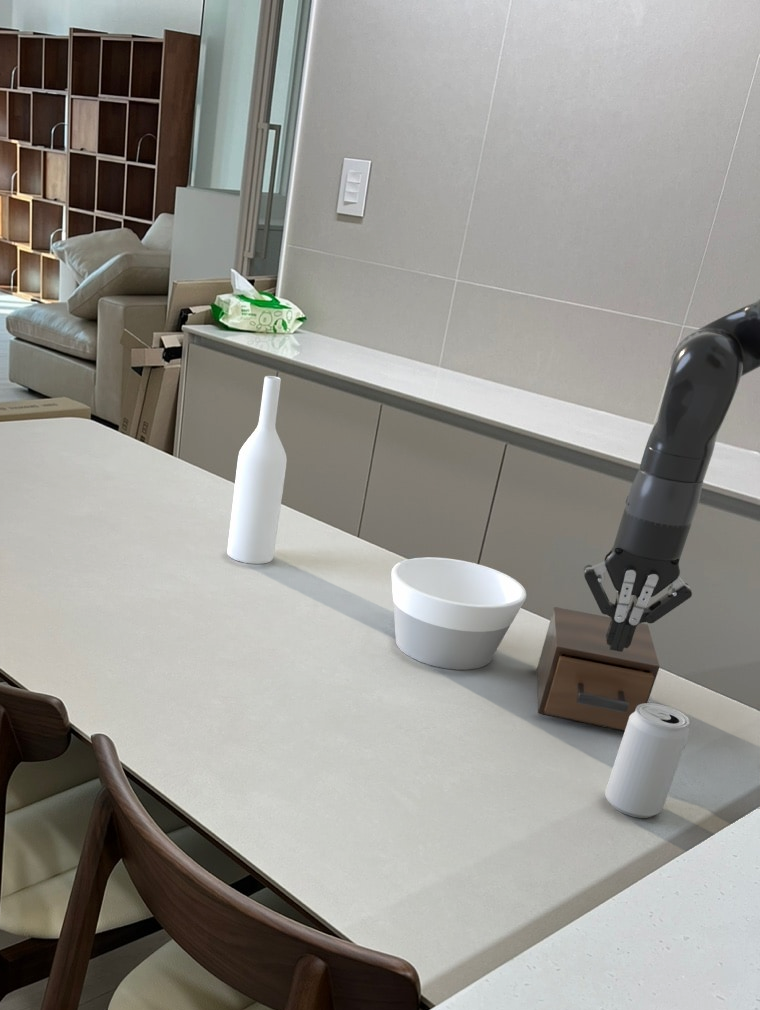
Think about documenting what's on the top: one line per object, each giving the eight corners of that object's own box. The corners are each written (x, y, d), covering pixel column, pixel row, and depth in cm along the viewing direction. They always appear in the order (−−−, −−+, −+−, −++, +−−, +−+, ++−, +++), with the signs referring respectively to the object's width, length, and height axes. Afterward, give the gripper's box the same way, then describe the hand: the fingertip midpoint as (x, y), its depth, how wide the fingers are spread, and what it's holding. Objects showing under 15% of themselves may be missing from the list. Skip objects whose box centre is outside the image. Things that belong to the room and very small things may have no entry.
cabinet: (637, 733, 138) (660, 666, 134) (537, 713, 140) (556, 646, 136) (627, 687, 151) (648, 624, 146) (536, 669, 153) (554, 606, 149)
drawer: (639, 749, 132) (658, 693, 129) (544, 729, 134) (561, 673, 131) (626, 688, 148) (643, 637, 144) (542, 672, 150) (557, 621, 146)
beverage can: (643, 827, 118) (677, 733, 112) (592, 801, 122) (622, 709, 116) (670, 810, 122) (703, 718, 116) (619, 785, 126) (650, 695, 120)
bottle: (247, 567, 178) (270, 384, 164) (217, 551, 183) (237, 372, 169) (282, 560, 183) (308, 382, 168) (252, 545, 188) (274, 371, 174)
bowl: (474, 691, 144) (492, 619, 139) (354, 645, 154) (367, 575, 149) (529, 652, 158) (547, 585, 153) (416, 612, 168) (429, 547, 163)
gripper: (602, 510, 120) (561, 649, 128) (724, 532, 118) (674, 671, 126) (598, 494, 126) (559, 627, 135) (713, 514, 124) (667, 648, 132)
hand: (615, 648), depth 130 cm, fingers closed
